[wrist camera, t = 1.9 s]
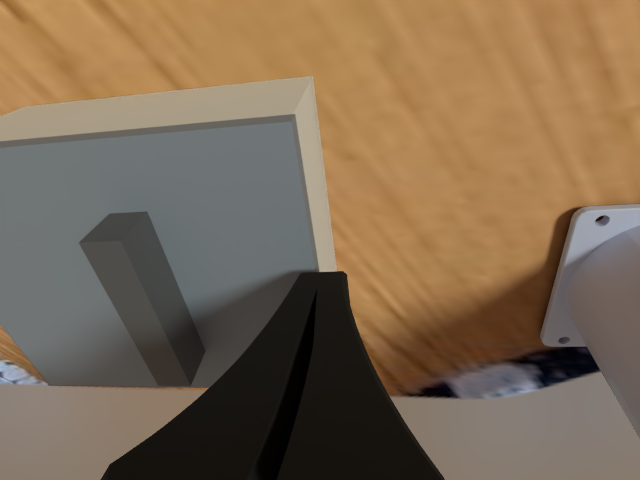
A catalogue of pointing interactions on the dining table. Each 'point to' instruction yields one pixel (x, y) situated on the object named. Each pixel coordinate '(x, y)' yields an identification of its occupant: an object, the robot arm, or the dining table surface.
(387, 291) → the dining table surface
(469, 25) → the dining table surface
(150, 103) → the box
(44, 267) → the lid
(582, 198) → the dining table surface
